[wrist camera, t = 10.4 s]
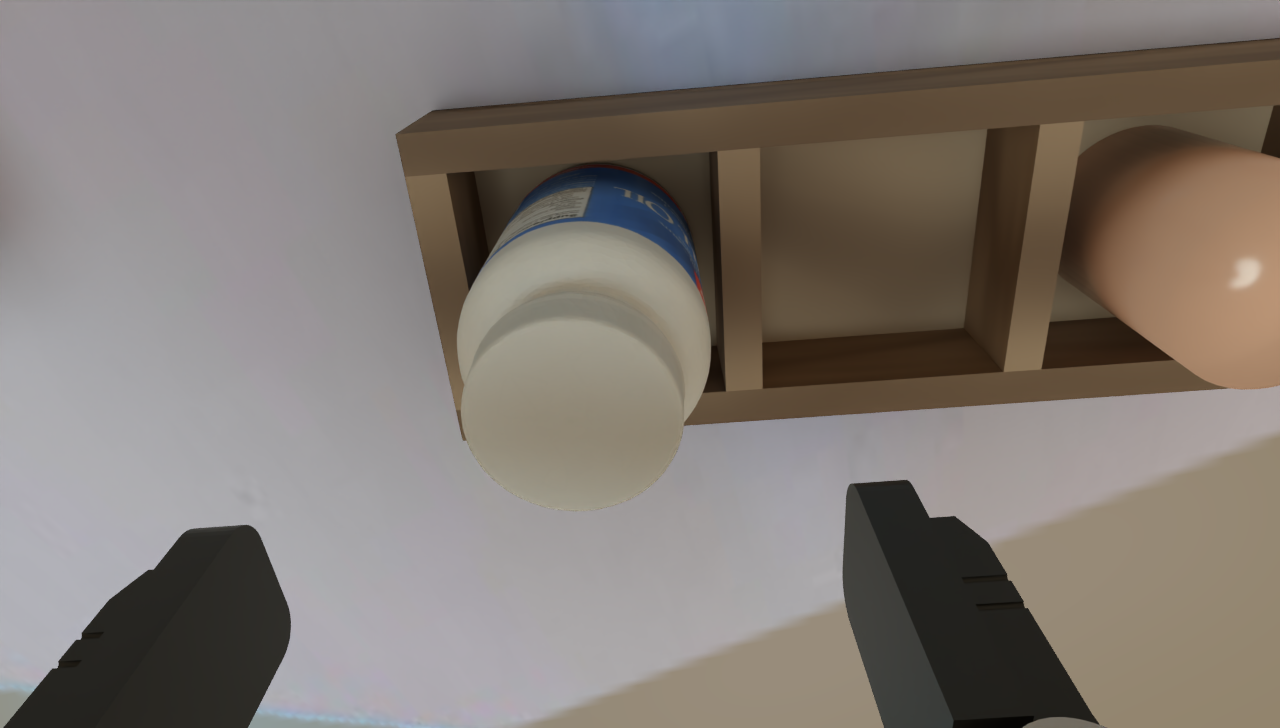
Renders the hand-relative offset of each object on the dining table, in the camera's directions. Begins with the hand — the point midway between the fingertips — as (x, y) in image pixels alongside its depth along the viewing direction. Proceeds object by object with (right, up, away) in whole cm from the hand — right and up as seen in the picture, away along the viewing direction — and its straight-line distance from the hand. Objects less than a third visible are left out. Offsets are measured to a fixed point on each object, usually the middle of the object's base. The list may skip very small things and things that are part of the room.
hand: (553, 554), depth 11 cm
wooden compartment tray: (+8, +7, +12) cm, 16 cm away
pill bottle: (0, +6, +12) cm, 13 cm away
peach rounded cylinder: (+15, +7, +11) cm, 20 cm away
